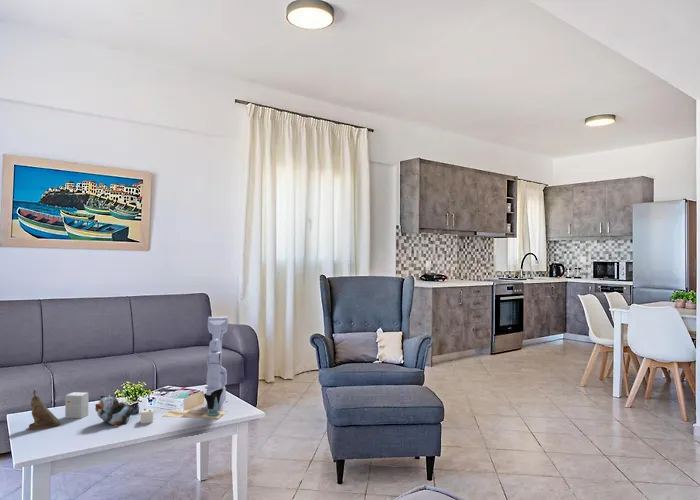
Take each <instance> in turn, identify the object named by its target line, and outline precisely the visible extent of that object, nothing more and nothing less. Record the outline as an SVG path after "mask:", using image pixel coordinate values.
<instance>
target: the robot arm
mask: <svg viewBox="0 0 700 500" xmlns="http://www.w3.org/2000/svg"><path fill="white" fill-rule="evenodd" d="M228 319H229V318H228V316H208V318H207V330H208V333H209V334H211V335H212V336H211V338H212V339H211V340H210V341H209V347H208V353H207V354H206V364H207V365H206V366H207V373H206V386H205V390H206V391H205V393H203V397H204V399H205V401H206V404H205V405H206V406H207V410H209V409H213V408H214V401H215V398H216V397H217V401H218V407H219V406H220V407H221V406H223V405H224V404H225V403H227V402H228V399H226V394H227V393H226V392H227V388H226V385H227V383H228V373H227V369H226V368H225V367H223V366H222V356H223V337H224V334H226V333H228V325H229V323H228V322H229V320H228Z"/></svg>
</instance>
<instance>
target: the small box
mask: <svg viewBox="0 0 700 500" xmlns="http://www.w3.org/2000/svg"><path fill="white" fill-rule="evenodd" d="M64 398H65V401H64V403H65V406H64V407H65V411H64V412H65V417H64V418H66V419H83V418H85V417H87V416H89V392H78V391H77V392H74V391H73V392H71V393H70V392H69V393H68V394H65V397H64Z"/></svg>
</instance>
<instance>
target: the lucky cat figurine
mask: <svg viewBox="0 0 700 500" xmlns="http://www.w3.org/2000/svg"><path fill="white" fill-rule="evenodd" d="M94 406H95V408H94V409H95V412H96V414H97V415H96V416H98V417H99V418H100V419H101V420H102V421H103V423H108V424H110V425H112V426H115V427H116V426H117V427H118V426H122V425H125V424H126V423H127V422H128V421H130V416H131V415H132V413H133V412H134V408H133V407H132V406H131V405H130V404H129V403H127V402H125V401H123V402H122V401H120V402H119V400H118V399H117V398H116V397H114V396H113V395H112V394H109V395H108V396H105V395H100V399H99V401H98V403H96V404H95V405H94Z"/></svg>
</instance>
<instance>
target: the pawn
mask: <svg viewBox="0 0 700 500" xmlns="http://www.w3.org/2000/svg"><path fill="white" fill-rule="evenodd" d="M208 410H209V411H208V412H207V415H208V416H216V415H219V414H220V411H221V410H220V411H218V410H219V406H218V401H217V397H216V398H215V401H214V408H213V409H208Z"/></svg>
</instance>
